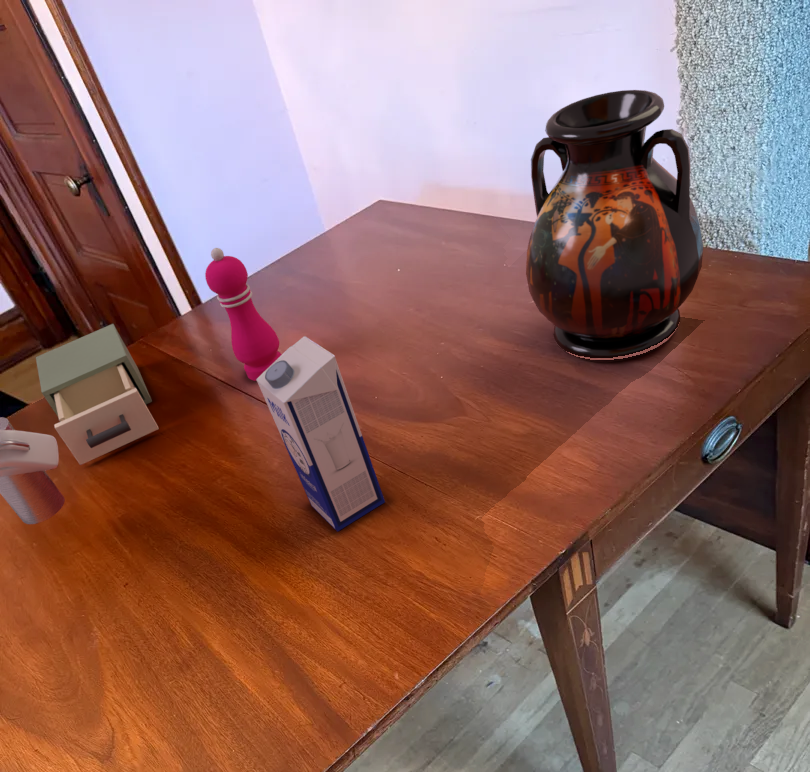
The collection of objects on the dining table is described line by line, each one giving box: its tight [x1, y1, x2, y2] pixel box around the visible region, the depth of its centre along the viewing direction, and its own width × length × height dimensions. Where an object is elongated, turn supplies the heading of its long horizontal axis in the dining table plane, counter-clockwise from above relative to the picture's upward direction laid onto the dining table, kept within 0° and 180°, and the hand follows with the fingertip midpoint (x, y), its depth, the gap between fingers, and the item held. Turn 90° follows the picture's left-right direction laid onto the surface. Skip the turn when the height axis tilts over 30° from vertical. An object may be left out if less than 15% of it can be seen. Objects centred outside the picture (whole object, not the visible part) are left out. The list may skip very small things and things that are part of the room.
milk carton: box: [256, 335, 386, 532], centre depth 82 cm, size 7×7×20 cm
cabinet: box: [35, 323, 153, 419], centre depth 121 cm, size 15×14×9 cm
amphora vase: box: [525, 89, 704, 363], centre depth 92 cm, size 22×22×28 cm
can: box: [0, 416, 66, 525], centre depth 89 cm, size 6×6×12 cm
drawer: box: [53, 363, 159, 466], centre depth 111 cm, size 18×12×7 cm
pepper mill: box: [204, 247, 282, 382], centre depth 112 cm, size 7×7×20 cm
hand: (17, 468), depth 90 cm, fingers closed on can, 5 cm apart
